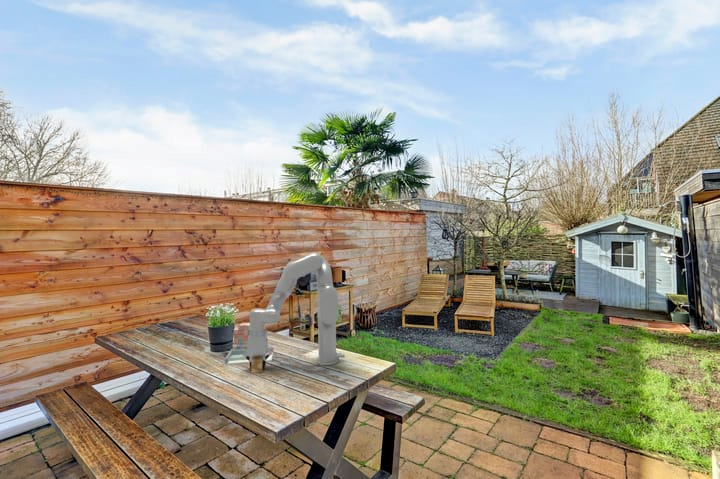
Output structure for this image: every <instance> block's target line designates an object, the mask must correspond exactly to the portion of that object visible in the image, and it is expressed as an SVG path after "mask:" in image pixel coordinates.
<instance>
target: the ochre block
mask: <svg viewBox="0 0 720 479" xmlns="http://www.w3.org/2000/svg"><path fill="white" fill-rule="evenodd" d="M262 362H263V357H262V356H253V358H252V361H251V368H250V371H251V374H258V373H263V370H264V369H263V363H262Z"/></svg>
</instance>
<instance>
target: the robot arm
mask: <svg viewBox="0 0 720 479" xmlns="http://www.w3.org/2000/svg"><path fill="white" fill-rule="evenodd" d="M313 272H315V276H316V288H317V289H316V290H317V291H316V292H317V293H316V294H317V297H318V298H319V306H318V308H317V313H316V314H317V315H316V316H317V326H318V328H317V334H318V338H317V341H318V357H317V358H316V359H315V363H316V364H318V365H320V366H332V365H335V364H339V361H340V358H344V359H345V358H346V355H345V353H342V352H337V325H336V324H337V321H338V320H339V316H340V311H339V310H340V308H339V296H338V295H339V294H338V292H337V289H336V288H335V286H334V283H333V282H334V281H333V274H332V268H331V265H330V263H329V261H328V260H327V259H326V258H325V257H324V256H323V255H321V254H319V253H318V252H309V253H308V254H306V256H305V257H303V258H300V259H298V260H295V261H294V260H293V261H290V262H287V264H286V265H285V267H284V269H283V272H282V273H281V276H280V278H279V280H278V281H277V285H276V287H275V289H274V291H273V294H272V296H271V298H270V300H269V303H268V304H267V307H266V308H265V309H264V308H259V307H258V308H253V309H251V310H249V323H250V335H249V337H248V343H247V344H246V347H247V348H246V349H247V350H246V351H245V352H244V354H243V357H245V358H246V359H247V360H248V361H249V362H250V363H249V368H250V369H251V361H252V358H253V356H262V357H263V362H262V363H263V370H264V369H265V367H266V366H267V365H266V364H267V363H266V359H267V358H268V357H269V356H270V355H271V354H272V351H271V350H270V349H269V348H270V347H269V342H268V335H267V334H268V333H269V330H268V329H266V324H276V323H278V322H279V320H280V319H281V310H282V309H283V306H284V304H285V302H286V301H287V299H288V298H289V297H290V295H291V294H292V292H293V291H294V289H295V285H297V284H296V283H297V282H298V279H299V278H301V277H305V276H306V275H309V274H312V273H313ZM267 352H268V354H267ZM266 354H267V355H266ZM249 356H250V357H249Z"/></svg>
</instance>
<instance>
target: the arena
mask: <svg viewBox="0 0 720 479" xmlns="http://www.w3.org/2000/svg"><path fill="white" fill-rule="evenodd" d="M268 348H269V349H270V350H271V351H272V354H271V355H270V356H269V357H268V358H267V359H266V362H272V361H273V360H272V359H273V355H274V347H273V346H272V347H268ZM246 350H247V348H245V349H244V348H243V349H231V350H229V352H228V354H227V355H226V357H225V359H224V364H227V365H236V364H237V365H238V364H239V365H240V364H250V362H249V361H248V360H247V359H246V358H245V357H243V354H244V352H245V351H246ZM267 354H268V352H267ZM267 354H266V355H267ZM249 357H250V356H249Z"/></svg>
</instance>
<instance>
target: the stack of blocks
mask: <svg viewBox="0 0 720 479" xmlns="http://www.w3.org/2000/svg"><path fill="white" fill-rule="evenodd" d="M234 327H235V329H234V344H233V345H247V343H248V337H249V335H250V322H242V323H240V324H238V326H234Z"/></svg>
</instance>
